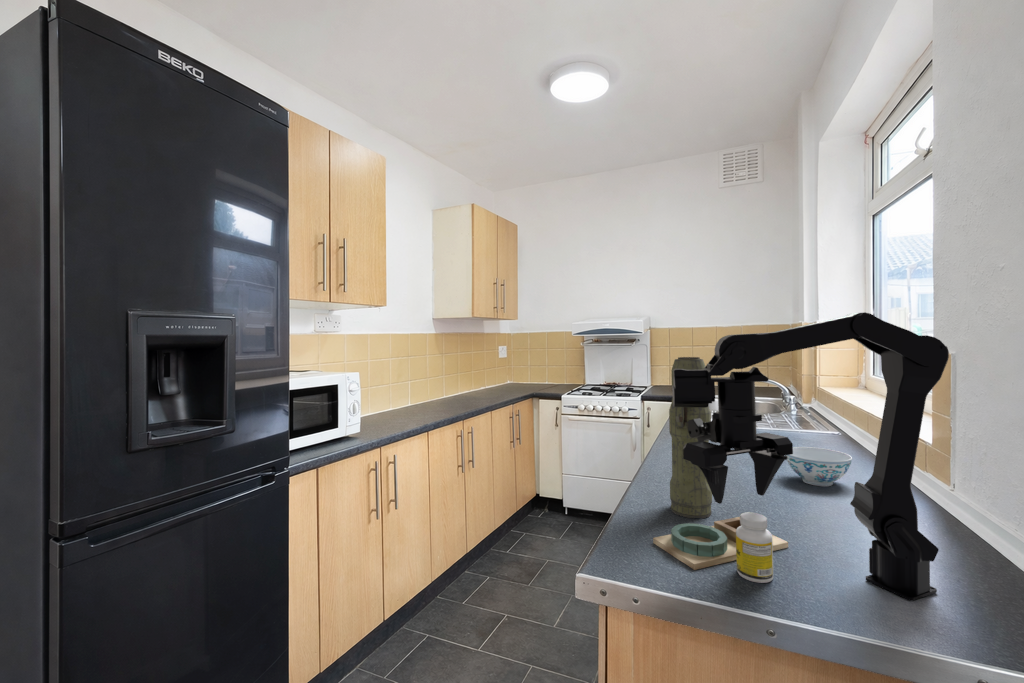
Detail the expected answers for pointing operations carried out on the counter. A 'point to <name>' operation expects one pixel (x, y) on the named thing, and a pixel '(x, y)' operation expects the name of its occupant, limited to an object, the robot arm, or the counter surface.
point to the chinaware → (819, 465)
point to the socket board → (707, 560)
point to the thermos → (687, 478)
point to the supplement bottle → (754, 548)
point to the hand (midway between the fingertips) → (739, 498)
